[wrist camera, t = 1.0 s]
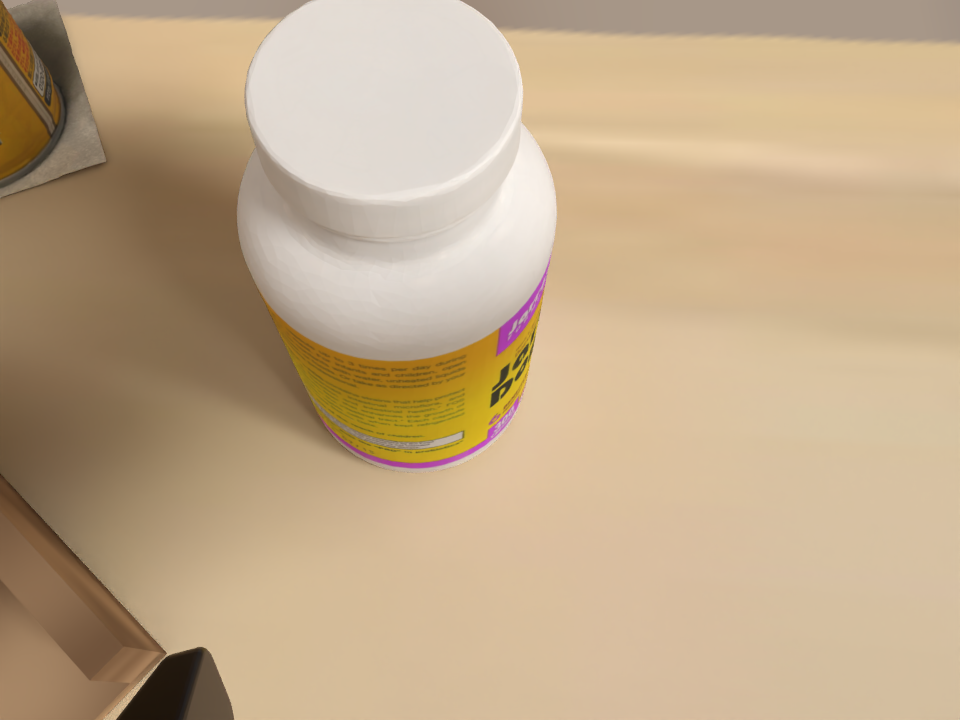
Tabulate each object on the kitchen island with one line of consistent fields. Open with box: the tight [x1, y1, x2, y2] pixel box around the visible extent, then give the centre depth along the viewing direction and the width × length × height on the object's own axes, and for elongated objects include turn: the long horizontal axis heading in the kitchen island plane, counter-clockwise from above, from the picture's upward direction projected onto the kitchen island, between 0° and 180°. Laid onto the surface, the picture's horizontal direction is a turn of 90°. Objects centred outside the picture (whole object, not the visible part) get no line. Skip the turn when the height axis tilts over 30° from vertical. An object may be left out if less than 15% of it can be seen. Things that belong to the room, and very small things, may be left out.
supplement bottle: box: [237, 0, 557, 473], centre depth 19 cm, size 7×7×13 cm
